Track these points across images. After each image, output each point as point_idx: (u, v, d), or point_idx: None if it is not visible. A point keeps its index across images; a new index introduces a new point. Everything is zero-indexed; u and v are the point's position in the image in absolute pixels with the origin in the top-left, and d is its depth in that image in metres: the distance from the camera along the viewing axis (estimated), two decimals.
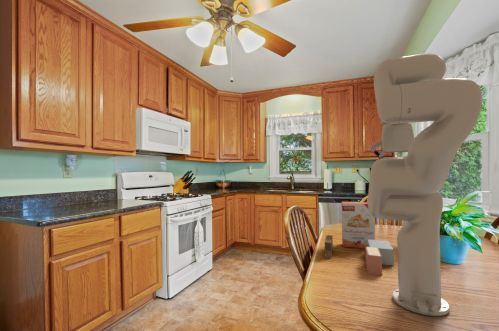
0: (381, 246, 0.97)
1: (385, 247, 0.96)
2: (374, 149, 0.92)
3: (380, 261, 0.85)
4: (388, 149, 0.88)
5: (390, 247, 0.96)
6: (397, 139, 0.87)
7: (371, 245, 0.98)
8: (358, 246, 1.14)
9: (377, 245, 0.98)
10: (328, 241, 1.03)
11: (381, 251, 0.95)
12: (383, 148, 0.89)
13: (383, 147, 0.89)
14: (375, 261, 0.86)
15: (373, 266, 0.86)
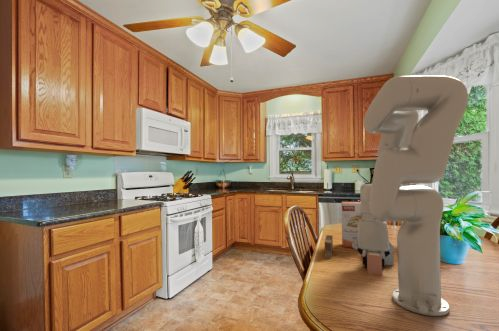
0: None
1: None
2: (356, 247, 0.92)
3: (380, 261, 0.85)
4: (364, 247, 0.89)
5: None
6: (372, 238, 0.88)
7: None
8: (358, 246, 1.14)
9: None
10: (328, 241, 1.03)
11: None
12: (359, 245, 0.90)
13: (359, 244, 0.90)
14: (375, 261, 0.86)
15: (372, 265, 0.86)
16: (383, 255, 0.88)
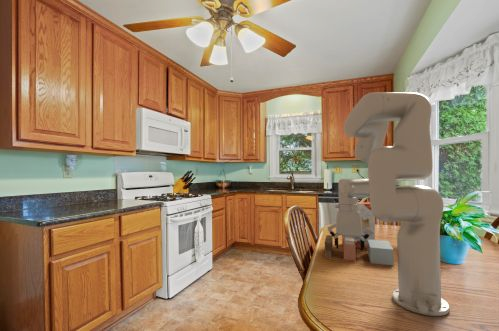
0: (381, 246, 0.97)
1: (385, 247, 0.96)
2: (330, 230, 1.07)
3: (354, 249, 0.99)
4: (340, 233, 1.03)
5: (390, 247, 0.96)
6: (348, 225, 1.02)
7: (371, 245, 0.98)
8: (358, 246, 1.14)
9: (377, 245, 0.98)
10: (328, 241, 1.03)
11: (381, 251, 0.95)
12: (337, 231, 1.04)
13: (337, 230, 1.04)
14: (350, 249, 0.99)
15: (348, 253, 1.00)
16: (362, 238, 1.01)
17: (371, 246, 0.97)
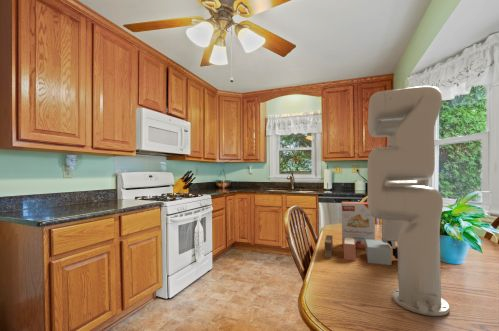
0: (379, 246, 0.97)
1: (383, 247, 0.96)
2: (386, 241, 0.99)
3: (354, 248, 0.99)
4: (388, 238, 0.97)
5: (388, 247, 0.96)
6: (397, 230, 0.96)
7: (369, 245, 0.99)
8: (358, 246, 1.14)
9: (375, 245, 0.99)
10: (328, 241, 1.03)
11: (379, 251, 0.95)
12: (384, 237, 0.98)
13: (384, 236, 0.97)
14: (350, 249, 0.99)
15: (348, 253, 1.00)
16: None
17: (369, 246, 0.97)
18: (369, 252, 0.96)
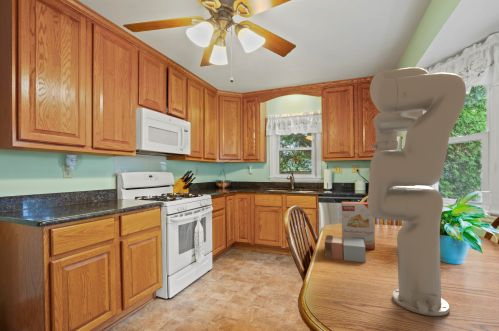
0: (354, 244, 1.01)
1: (358, 245, 0.99)
2: None
3: (341, 247, 1.01)
4: None
5: (362, 245, 0.99)
6: None
7: (345, 243, 1.02)
8: None
9: (351, 243, 1.02)
10: (328, 241, 1.03)
11: (354, 248, 0.98)
12: None
13: None
14: (337, 247, 1.01)
15: (335, 251, 1.01)
16: None
17: (345, 244, 1.01)
18: (344, 250, 0.99)
